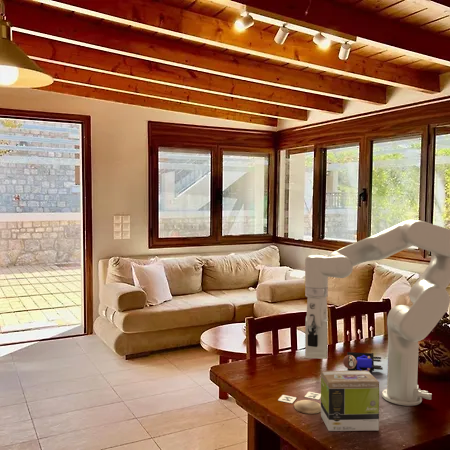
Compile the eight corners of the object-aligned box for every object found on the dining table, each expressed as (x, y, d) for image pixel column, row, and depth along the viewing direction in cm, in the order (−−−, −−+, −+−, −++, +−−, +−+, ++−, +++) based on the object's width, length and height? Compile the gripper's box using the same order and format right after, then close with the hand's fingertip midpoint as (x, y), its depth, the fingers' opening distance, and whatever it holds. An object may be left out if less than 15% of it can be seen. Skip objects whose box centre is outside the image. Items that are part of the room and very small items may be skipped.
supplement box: (327, 359, 158) (327, 321, 157) (304, 358, 159) (304, 320, 159) (327, 352, 165) (327, 316, 165) (305, 351, 167) (305, 315, 166)
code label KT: (322, 394, 164) (322, 394, 164) (318, 399, 160) (318, 399, 160) (308, 391, 166) (308, 391, 166) (304, 397, 162) (304, 396, 162)
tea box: (367, 416, 148) (369, 369, 147) (379, 432, 138) (380, 381, 137) (319, 416, 148) (320, 369, 147) (327, 432, 138) (328, 381, 137)
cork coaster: (325, 405, 156) (325, 403, 156) (318, 416, 148) (318, 414, 148) (298, 399, 160) (298, 397, 160) (290, 410, 152) (290, 408, 152)
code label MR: (296, 398, 161) (296, 397, 161) (292, 403, 157) (292, 403, 157) (282, 395, 163) (282, 394, 163) (277, 400, 159) (277, 400, 159)
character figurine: (383, 376, 183) (343, 374, 186) (380, 368, 190) (342, 366, 193) (384, 357, 182) (343, 354, 185) (381, 349, 189) (342, 347, 192)
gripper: (320, 297, 152) (320, 351, 153) (333, 288, 167) (333, 337, 168) (297, 295, 155) (297, 348, 156) (312, 286, 171) (312, 334, 172)
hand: (316, 342), depth 162 cm, fingers closed on supplement box, 8 cm apart
